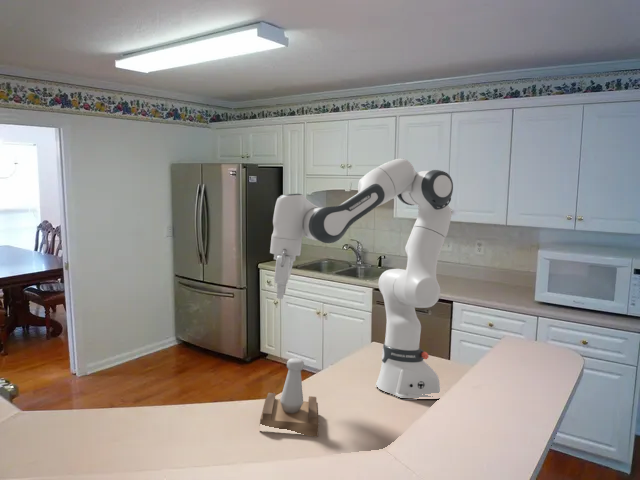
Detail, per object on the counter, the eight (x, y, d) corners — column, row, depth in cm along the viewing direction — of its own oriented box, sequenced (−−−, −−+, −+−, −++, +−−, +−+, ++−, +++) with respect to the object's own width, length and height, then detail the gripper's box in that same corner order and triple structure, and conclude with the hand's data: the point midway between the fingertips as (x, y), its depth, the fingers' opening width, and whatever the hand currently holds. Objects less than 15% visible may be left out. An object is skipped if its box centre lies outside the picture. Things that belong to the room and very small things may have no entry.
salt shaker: (299, 416, 115) (304, 364, 114) (276, 412, 116) (281, 360, 115) (304, 408, 120) (309, 358, 120) (283, 404, 121) (288, 355, 121)
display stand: (316, 413, 125) (318, 397, 125) (317, 436, 111) (319, 418, 111) (264, 409, 125) (266, 392, 125) (259, 431, 111) (260, 412, 111)
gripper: (295, 251, 125) (290, 302, 125) (297, 248, 145) (293, 292, 145) (271, 249, 125) (267, 300, 125) (277, 246, 145) (272, 290, 145)
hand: (281, 295), depth 135 cm, fingers open, 8 cm apart
